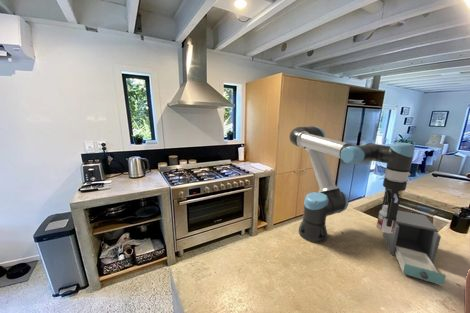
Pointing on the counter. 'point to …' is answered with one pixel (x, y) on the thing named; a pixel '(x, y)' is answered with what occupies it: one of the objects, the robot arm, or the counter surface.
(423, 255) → the tray
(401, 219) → the housing
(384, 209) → the pill bottle
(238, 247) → the counter surface
